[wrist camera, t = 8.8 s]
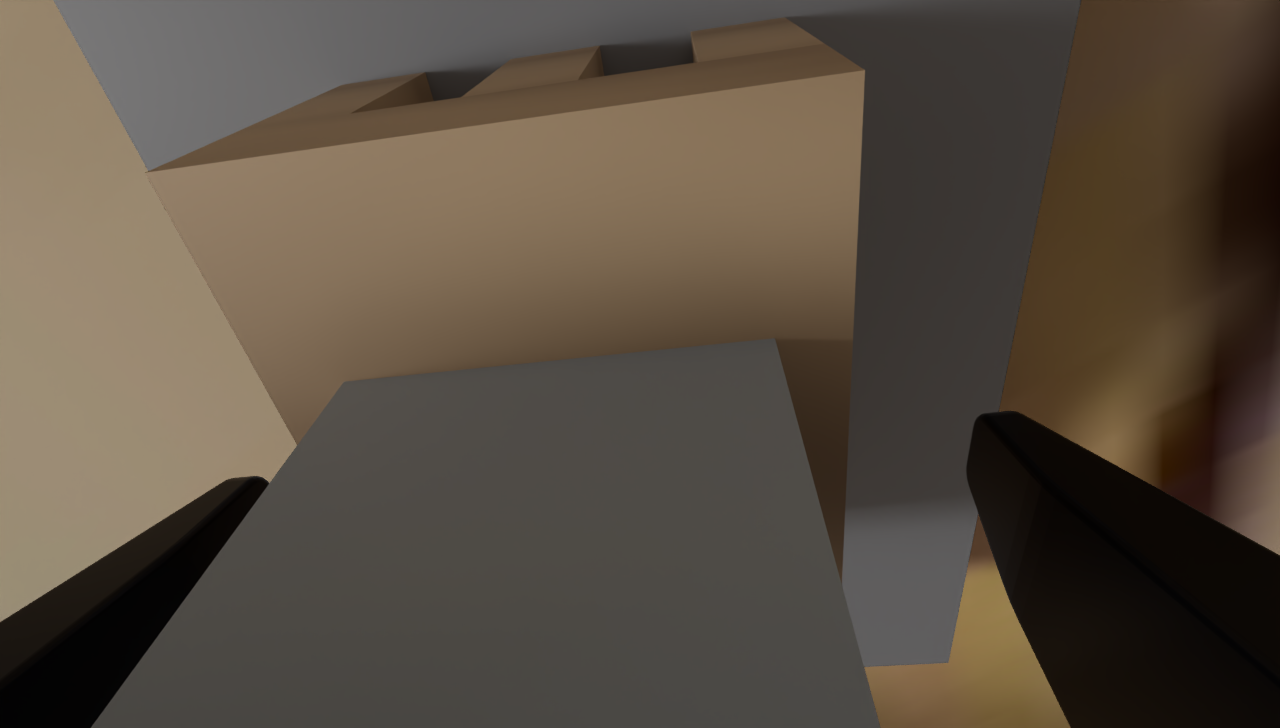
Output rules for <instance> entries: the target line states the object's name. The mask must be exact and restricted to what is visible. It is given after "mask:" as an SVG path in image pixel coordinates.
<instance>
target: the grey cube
mask: <svg viewBox="0 0 1280 728" xmlns="http://www.w3.org/2000/svg"><path fill="white" fill-rule="evenodd" d="M91 728H880V724H879V721H878V717H877V713H876V710H875V706H874V702H873V698H872V695H871V691H870V687H869V684H868V680H867V676H866V673H865V669H864V665H863V662H862V658H861V654H860V650H859V647H858V643H857V639H856V636H855V632H854V628H853V625H852V621H851V617H850V614H849V610H848V606H847V602H846V599H845V595H844V591H843V588H842V584H841V580H840V577H839V573H838V569H837V566H836V562H835V558H834V554H833V551H832V547H831V543H830V540H829V536H828V532H827V529H826V525H825V521H824V518H823V514H822V510H821V507H820V503H819V499H818V495H817V492H816V488H815V484H814V481H813V477H812V473H811V470H810V466H809V462H808V459H807V455H806V451H805V447H804V444H803V440H802V436H801V433H800V429H799V425H798V422H797V418H796V414H795V411H794V407H793V403H792V399H791V396H790V392H789V388H788V385H787V381H786V377H785V374H784V370H783V366H782V363H781V359H780V355H779V352H778V348H777V344H776V340H775V338H772V339H762V340H752V341H742V342H733V343H723V344H713V345H703V346H693V347H683V348H673V349H663V350H653V351H643V352H634V353H624V354H614V355H604V356H594V357H584V358H574V359H564V360H554V361H544V362H534V363H525V364H515V365H505V366H495V367H485V368H475V369H465V370H455V371H445V372H435V373H425V374H416V375H406V376H396V377H386V378H376V379H366V380H356V381H346V382H343V384H342V385H341V386H340V388H339V389H338V391H337V392H336V393H335V395H334V396H333V397H332V399H331V400H330V401H329V403H328V404H327V406H326V407H325V408H324V410H323V411H322V412H321V414H320V415H319V417H318V418H317V419H316V421H315V422H314V423H313V425H312V426H311V427H310V429H309V430H308V432H307V433H306V434H305V436H304V437H303V438H302V440H301V441H300V443H299V444H298V445H297V447H296V448H295V449H294V451H293V452H292V453H291V455H290V456H289V458H288V459H287V460H286V462H285V463H284V464H283V466H282V467H281V468H280V470H279V471H278V473H277V474H276V475H275V477H274V478H273V479H272V481H271V482H270V484H269V485H268V486H267V488H266V489H265V490H264V492H263V493H262V494H261V496H260V497H259V499H258V500H257V501H256V503H255V504H254V505H253V507H252V508H251V510H250V511H249V512H248V514H247V515H246V516H245V518H244V519H243V520H242V522H241V523H240V525H239V526H238V527H237V529H236V530H235V531H234V533H233V534H232V536H231V537H230V538H229V540H228V541H227V542H226V544H225V545H224V546H223V548H222V549H221V551H220V552H219V553H218V555H217V556H216V557H215V559H214V560H213V561H212V563H211V564H210V566H209V567H208V568H207V570H206V571H205V572H204V574H203V575H202V577H201V578H200V579H199V581H198V582H197V583H196V585H195V586H194V587H193V589H192V590H191V592H190V593H189V594H188V596H187V597H186V598H185V600H184V601H183V603H182V604H181V605H180V607H179V608H178V609H177V611H176V612H175V613H174V615H173V616H172V618H171V619H170V620H169V622H168V623H167V624H166V626H165V627H164V629H163V630H162V631H161V633H160V634H159V635H158V637H157V638H156V639H155V641H154V642H153V644H152V645H151V646H150V648H149V649H148V650H147V652H146V653H145V654H144V656H143V657H142V659H141V660H140V661H139V663H138V664H137V665H136V667H135V668H134V670H133V671H132V672H131V674H130V675H129V676H128V678H127V679H126V680H125V682H124V683H123V685H122V686H121V687H120V689H119V690H118V691H117V693H116V694H115V696H114V697H113V698H112V700H111V701H110V702H109V704H108V705H107V706H106V708H105V709H104V711H103V712H102V713H101V715H100V716H99V717H98V719H97V720H96V722H95V723H94V724H93V726H92V727H91Z"/></svg>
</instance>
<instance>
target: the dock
mask: <svg viewBox="0 0 1280 728" xmlns="http://www.w3.org/2000/svg"><path fill="white" fill-rule="evenodd" d="M54 2H55V4H56V6H57V7H58V9H59V11H60V13H61V15H62V16H63V18H64V20H65V22H66V24H67V25H68V27H69V29H70V31H71V33H72V34H73V36H74V38H75V40H76V42H77V43H78V45H79V47H80V49H81V51H82V52H83V54H84V56H85V58H86V59H87V61H88V63H89V65H90V67H91V68H92V70H93V72H94V74H95V76H96V77H97V79H98V81H99V83H100V85H101V86H102V88H103V90H104V92H105V94H106V95H107V97H108V99H109V101H110V103H111V104H112V106H113V108H114V110H115V112H116V113H117V115H118V117H119V119H120V121H121V122H122V124H123V126H124V128H125V130H126V131H127V133H128V135H129V137H130V138H131V140H132V142H133V144H134V146H135V147H136V149H137V151H138V153H139V155H140V156H141V158H142V160H143V162H144V164H145V165H146V167H147V169H148V171H150V170H152V169H154V168H157V167H159V166H161V165H163V164H166V163H168V162H170V161H172V160H175V159H177V158H179V157H181V156H184V155H186V154H188V153H190V152H193V151H195V150H197V149H199V148H202V147H204V146H206V145H208V144H210V143H213V142H215V141H217V140H219V139H222V138H224V137H226V136H228V135H231V134H233V133H235V132H237V131H240V130H242V129H244V128H246V127H249V126H251V125H253V124H255V123H258V122H260V121H262V120H264V119H267V118H269V117H271V116H273V115H276V114H278V113H280V112H282V111H284V110H287V109H289V108H291V107H293V106H296V105H298V104H300V103H302V102H305V101H307V100H309V99H311V98H314V97H316V96H318V95H320V94H323V93H325V92H327V91H329V90H332V89H334V88H336V87H338V86H341V85H345V84H351V83H358V82H364V81H371V80H377V79H384V78H390V77H397V76H404V75H410V74H417V73H423V72H425V73H426V77H427V80H428V83H429V87H430V90H431V93H432V97H433V100H434V101H439V100H446V99H453V98H459V97H462V96H463V95H465V94H466V93H467V92H469V91H470V90H471V89H473V88H474V87H475V86H476V85H478V84H479V83H480V82H482V81H483V80H484V79H486V78H487V77H488V76H490V75H491V74H492V73H493V72H495V71H496V70H497V69H499V68H500V67H501V66H503V65H504V64H505V63H507V62H508V61H509V60H510V59H515V58H521V57H528V56H534V55H541V54H548V53H554V52H561V51H567V50H574V49H580V48H587V47H593V46H600V52H601V58H602V64H603V71H604V76H608V75H615V74H622V73H629V72H636V71H642V70H649V69H656V68H663V67H669V66H676V65H683V64H690V63H693V53H692V41H691V31H698V30H705V29H711V28H718V27H724V26H731V25H737V24H744V23H750V22H757V21H763V20H770V19H777V18H783V17H785V18H786V19H788V20H789V21H791V22H793V23H794V24H796V25H797V26H799V27H800V28H802V29H803V30H805V31H806V32H808V33H809V34H811V35H812V36H814V37H815V38H817V39H818V40H820V41H821V42H823V43H824V44H826V45H827V46H829V47H831V48H832V49H834V50H835V51H837V52H838V53H840V54H841V55H843V56H844V57H846V58H847V59H849V60H850V61H852V62H853V63H855V64H856V65H858V66H859V67H861V68H862V69H864V70H865V82H864V104H863V126H862V149H861V171H860V193H859V215H858V238H857V260H856V282H855V305H854V327H853V349H852V371H851V394H850V416H849V438H848V461H847V483H846V505H845V527H844V550H843V572H842V588H843V591H844V595H845V599H846V602H847V606H848V610H849V614H850V617H851V621H852V625H853V628H854V632H855V636H856V639H857V643H858V647H859V650H860V654H861V658H862V662H863V665H864V667H870V666H891V665H912V664H933V663H948V661H949V656H950V651H951V647H952V642H953V637H954V632H955V627H956V622H957V617H958V612H959V607H960V602H961V597H962V592H963V587H964V582H965V577H966V572H967V567H968V562H969V557H970V552H971V547H972V542H973V537H974V532H975V527H976V522H977V517H978V511H977V508H976V505H975V503H974V500H973V497H972V494H971V491H970V488H969V485H968V481H967V475H966V465H967V459H968V453H969V448H970V442H971V436H972V431H973V425H974V422H975V420H976V418H977V417H978V416H979V415H981V414H983V413H992V412H999V407H1000V402H1001V397H1002V392H1003V387H1004V382H1005V377H1006V372H1007V367H1008V362H1009V357H1010V352H1011V347H1012V342H1013V337H1014V332H1015V327H1016V322H1017V317H1018V312H1019V308H1020V303H1021V298H1022V293H1023V288H1024V283H1025V278H1026V273H1027V268H1028V263H1029V258H1030V253H1031V248H1032V243H1033V238H1034V233H1035V228H1036V223H1037V218H1038V213H1039V208H1040V203H1041V198H1042V193H1043V188H1044V183H1045V178H1046V173H1047V168H1048V163H1049V158H1050V153H1051V148H1052V143H1053V138H1054V133H1055V128H1056V123H1057V118H1058V113H1059V108H1060V103H1061V98H1062V93H1063V88H1064V83H1065V78H1066V73H1067V68H1068V63H1069V58H1070V53H1071V48H1072V43H1073V38H1074V33H1075V28H1076V23H1077V18H1078V13H1079V8H1080V3H1081V0H54Z"/></svg>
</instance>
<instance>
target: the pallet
mask: <svg viewBox="0 0 1280 728" xmlns="http://www.w3.org/2000/svg"><path fill="white" fill-rule="evenodd" d="M691 41H692V53H693V63H690V64H683V65H676V66H669V67H663V68H656V69H649V70H642V71H636V72H629V73H622V74H615V75H608V76H604V71H603V64H602V58H601V52H600V46H593V47H587V48H580V49H574V50H567V51H561V52H554V53H548V54H541V55H534V56H528V57H521V58H515V59H510V60H509V61H508V62H507V63H505V64H504V65H503V66H501V67H500V68H499V69H497V70H496V71H495V72H493V73H492V74H491V75H490V76H488V77H487V78H486V79H484V80H483V81H482V82H480V83H479V84H478V85H476V86H475V87H474V88H473V89H471V90H470V91H469V92H467V93H466V94H465V95H463V96H462V97H459V98H453V99H446V100H439V101H434V100H433V97H432V93H431V90H430V87H429V83H428V80H427V77H426V73H425V72H423V73H417V74H410V75H404V76H397V77H390V78H384V79H377V80H371V81H364V82H358V83H351V84H345V85H341V86H338V87H336V88H334V89H332V90H329V91H327V92H325V93H323V94H320V95H318V96H316V97H314V98H311V99H309V100H307V101H305V102H302V103H300V104H298V105H296V106H293V107H291V108H289V109H287V110H284V111H282V112H280V113H278V114H276V115H273V116H271V117H269V118H267V119H264V120H262V121H260V122H258V123H255V124H253V125H251V126H249V127H246V128H244V129H242V130H240V131H237V132H235V133H233V134H231V135H228V136H226V137H224V138H222V139H219V140H217V141H215V142H213V143H210V144H208V145H206V146H204V147H202V148H199V149H197V150H195V151H193V152H190V153H188V154H186V155H184V156H181V157H179V158H177V159H175V160H172V161H170V162H168V163H166V164H163V165H161V166H159V167H157V168H154V169H152V170H150V171H148V172H145V174H146V176H147V177H148V179H149V181H150V183H151V185H152V186H153V188H154V190H155V192H156V193H157V195H158V197H159V199H160V201H161V202H162V204H163V206H164V208H165V210H166V211H167V213H168V215H169V217H170V218H171V220H172V222H173V224H174V226H175V227H176V229H177V231H178V233H179V235H180V236H181V238H182V240H183V242H184V243H185V245H186V247H187V249H188V251H189V252H190V254H191V256H192V258H193V260H194V261H195V263H196V265H197V267H198V269H199V270H200V272H201V274H202V276H203V277H204V279H205V281H206V283H207V285H208V286H209V288H210V290H211V292H212V294H213V295H214V297H215V299H216V301H217V302H218V304H219V306H220V308H221V310H222V311H223V313H224V315H225V317H226V319H227V320H228V322H229V324H230V326H231V327H232V329H233V331H234V333H235V335H236V336H237V338H238V340H239V342H240V344H241V345H242V347H243V349H244V351H245V352H246V354H247V356H248V358H249V360H250V361H251V363H252V365H253V367H254V369H255V370H256V372H257V374H258V376H259V378H260V379H261V381H262V383H263V385H264V386H265V388H266V390H267V392H268V394H269V395H270V397H271V399H272V401H273V403H274V404H275V406H276V408H277V410H278V411H279V413H280V415H281V417H282V419H283V420H284V422H285V424H286V426H287V428H288V429H289V431H290V433H291V435H292V436H293V438H294V440H295V442H296V444H297V445H298V444H299V443H300V441H301V440H302V438H303V437H304V436H305V434H306V433H307V432H308V430H309V429H310V427H311V426H312V425H313V423H314V422H315V421H316V419H317V418H318V417H319V415H320V414H321V412H322V411H323V410H324V408H325V407H326V406H327V404H328V403H329V401H330V400H331V399H332V397H333V396H334V395H335V393H336V392H337V391H338V389H339V388H340V386H341V385H342V384H343V382H346V381H356V380H366V379H376V378H386V377H396V376H406V375H416V374H425V373H435V372H445V371H455V370H465V369H475V368H485V367H495V366H505V365H515V364H525V363H534V362H544V361H554V360H564V359H574V358H584V357H594V356H604V355H614V354H624V353H634V352H643V351H653V350H663V349H673V348H683V347H693V346H703V345H713V344H723V343H733V342H742V341H752V340H762V339H772V338H775V340H776V344H777V348H778V352H779V355H780V359H781V363H782V366H783V370H784V374H785V377H786V381H787V385H788V388H789V392H790V396H791V399H792V403H793V407H794V411H795V414H796V418H797V422H798V425H799V429H800V433H801V436H802V440H803V444H804V447H805V451H806V455H807V459H808V462H809V466H810V470H811V473H812V477H813V481H814V484H815V488H816V492H817V495H818V499H819V503H820V507H821V510H822V514H823V518H824V521H825V525H826V529H827V532H828V536H829V540H830V543H831V547H832V551H833V554H834V558H835V562H836V566H837V569H838V573H839V577H840V580H841V584H842V572H843V550H844V527H845V505H846V483H847V461H848V438H849V416H850V394H851V371H852V349H853V327H854V305H855V282H856V260H857V238H858V215H859V193H860V171H861V149H862V126H863V104H864V82H865V70H864V69H862V68H861V67H859V66H858V65H856V64H855V63H853V62H852V61H850V60H849V59H847V58H846V57H844V56H843V55H841V54H840V53H838V52H837V51H835V50H834V49H832V48H831V47H829V46H827V45H826V44H824V43H823V42H821V41H820V40H818V39H817V38H815V37H814V36H812V35H811V34H809V33H808V32H806V31H805V30H803V29H802V28H800V27H799V26H797V25H796V24H794V23H793V22H791V21H789V20H788V19H786V18H785V17H783V18H777V19H770V20H763V21H757V22H750V23H744V24H737V25H731V26H724V27H718V28H711V29H705V30H698V31H691Z"/></svg>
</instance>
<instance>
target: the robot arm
mask: <svg viewBox="0 0 1280 728" xmlns="http://www.w3.org/2000/svg"><path fill="white" fill-rule="evenodd" d="M966 475H967V481H968V485H969V488H970V491H971V494H972V497H973V500H974V503H975V505H976V508H977V511H978V514H979V517H980V520H981V522H982V525H983V528H984V531H985V534H986V537H987V539H988V542H989V545H990V548H991V551H992V554H993V556H994V559H995V562H996V565H997V568H998V571H999V573H1000V576H1001V579H1002V582H1003V585H1004V587H1005V590H1006V593H1007V595H1008V598H1009V600H1010V603H1011V605H1012V607H1013V609H1014V612H1015V614H1016V616H1017V618H1018V620H1019V623H1020V625H1021V627H1022V629H1023V631H1024V633H1025V635H1026V637H1027V639H1028V641H1029V643H1030V645H1031V647H1032V649H1033V651H1034V653H1035V655H1036V658H1037V660H1038V662H1039V664H1040V666H1041V668H1042V670H1043V672H1044V674H1045V676H1046V678H1047V680H1048V682H1049V684H1050V686H1051V688H1052V690H1053V692H1054V694H1055V696H1056V699H1057V701H1058V703H1059V705H1060V707H1061V709H1062V711H1063V713H1064V715H1065V717H1066V719H1067V721H1068V723H1069V725H1070V727H1071V728H1280V555H1278V554H1276V553H1275V552H1273V551H1271V550H1269V549H1267V548H1265V547H1264V546H1262V545H1260V544H1258V543H1256V542H1255V541H1253V540H1251V539H1249V538H1247V537H1245V536H1244V535H1242V534H1240V533H1238V532H1236V531H1234V530H1233V529H1231V528H1229V527H1227V526H1225V525H1224V524H1222V523H1220V522H1218V521H1216V520H1214V519H1213V518H1211V517H1209V516H1207V515H1205V514H1203V513H1202V512H1200V511H1198V510H1196V509H1194V508H1193V507H1191V506H1189V505H1187V504H1185V503H1183V502H1182V501H1180V500H1178V499H1176V498H1174V497H1173V496H1171V495H1169V494H1167V493H1165V492H1163V491H1162V490H1160V489H1158V488H1156V487H1154V486H1152V485H1151V484H1149V483H1147V482H1145V481H1143V480H1142V479H1140V478H1138V477H1136V476H1134V475H1132V474H1131V473H1129V472H1127V471H1125V470H1123V469H1121V468H1120V467H1118V466H1116V465H1114V464H1112V463H1111V462H1109V461H1107V460H1105V459H1103V458H1101V457H1100V456H1098V455H1096V454H1094V453H1092V452H1090V451H1089V450H1087V449H1085V448H1083V447H1081V446H1080V445H1078V444H1076V443H1074V442H1072V441H1070V440H1069V439H1067V438H1065V437H1063V436H1061V435H1060V434H1058V433H1056V432H1054V431H1052V430H1050V429H1049V428H1047V427H1045V426H1043V425H1041V424H1039V423H1038V422H1036V421H1034V420H1032V419H1030V418H1029V417H1027V416H1025V415H1023V414H1021V413H1019V412H1016V411H1003V412H992V413H983V414H981V415H979V416H978V417H977V418H976V420H975V422H974V425H973V431H972V436H971V442H970V448H969V453H968V459H967V465H966ZM268 485H269V482H268V481H267V480H265V479H264V478H262V477H258V476H250V477H239V478H232V479H228V480H226V481H224V482H222V483H221V484H219V485H218V486H216V487H214V488H213V489H211V490H210V491H208V492H206V493H205V494H203V495H202V496H200V497H198V498H197V499H195V500H194V501H192V502H191V503H189V504H187V505H186V506H184V507H183V508H181V509H179V510H178V511H176V512H175V513H173V514H171V515H170V516H168V517H167V518H165V519H163V520H162V521H160V522H159V523H157V524H156V525H154V526H152V527H151V528H149V529H148V530H146V531H144V532H143V533H141V534H140V535H138V536H136V537H135V538H133V539H132V540H130V541H129V542H127V543H125V544H124V545H122V546H121V547H119V548H117V549H116V550H114V551H113V552H111V553H109V554H108V555H106V556H105V557H103V558H101V559H100V560H98V561H97V562H95V563H94V564H92V565H90V566H89V567H87V568H86V569H84V570H82V571H81V572H79V573H78V574H76V575H74V576H73V577H71V578H70V579H68V580H67V581H65V582H63V583H62V584H60V585H59V586H57V587H55V588H54V589H52V590H51V591H49V592H47V593H46V594H44V595H43V596H41V597H39V598H38V599H36V600H35V601H33V602H32V603H30V604H28V605H27V606H25V607H24V608H22V609H20V610H19V611H17V612H16V613H14V614H12V615H11V616H9V617H8V618H6V619H4V620H3V621H1V622H0V728H91V727H92V726H93V724H94V723H95V722H96V720H97V719H98V717H99V716H100V715H101V713H102V712H103V711H104V709H105V708H106V706H107V705H108V704H109V702H110V701H111V700H112V698H113V697H114V696H115V694H116V693H117V691H118V690H119V689H120V687H121V686H122V685H123V683H124V682H125V680H126V679H127V678H128V676H129V675H130V674H131V672H132V671H133V670H134V668H135V667H136V665H137V664H138V663H139V661H140V660H141V659H142V657H143V656H144V654H145V653H146V652H147V650H148V649H149V648H150V646H151V645H152V644H153V642H154V641H155V639H156V638H157V637H158V635H159V634H160V633H161V631H162V630H163V629H164V627H165V626H166V624H167V623H168V622H169V620H170V619H171V618H172V616H173V615H174V613H175V612H176V611H177V609H178V608H179V607H180V605H181V604H182V603H183V601H184V600H185V598H186V597H187V596H188V594H189V593H190V592H191V590H192V589H193V587H194V586H195V585H196V583H197V582H198V581H199V579H200V578H201V577H202V575H203V574H204V572H205V571H206V570H207V568H208V567H209V566H210V564H211V563H212V561H213V560H214V559H215V557H216V556H217V555H218V553H219V552H220V551H221V549H222V548H223V546H224V545H225V544H226V542H227V541H228V540H229V538H230V537H231V536H232V534H233V533H234V531H235V530H236V529H237V527H238V526H239V525H240V523H241V522H242V520H243V519H244V518H245V516H246V515H247V514H248V512H249V511H250V510H251V508H252V507H253V505H254V504H255V503H256V501H257V500H258V499H259V497H260V496H261V494H262V493H263V492H264V490H265V489H266V488H267V486H268Z"/></svg>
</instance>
